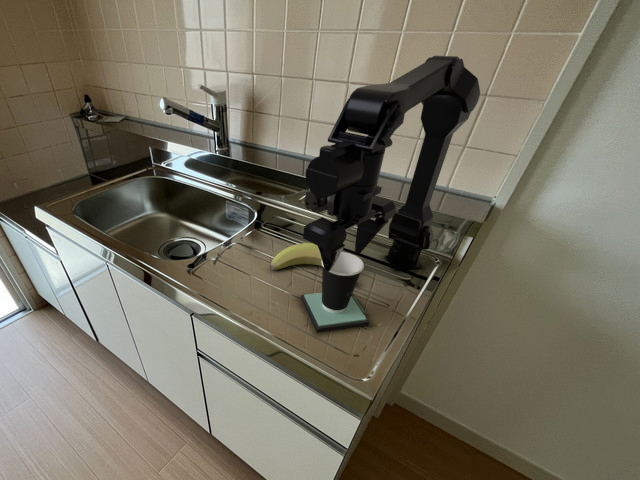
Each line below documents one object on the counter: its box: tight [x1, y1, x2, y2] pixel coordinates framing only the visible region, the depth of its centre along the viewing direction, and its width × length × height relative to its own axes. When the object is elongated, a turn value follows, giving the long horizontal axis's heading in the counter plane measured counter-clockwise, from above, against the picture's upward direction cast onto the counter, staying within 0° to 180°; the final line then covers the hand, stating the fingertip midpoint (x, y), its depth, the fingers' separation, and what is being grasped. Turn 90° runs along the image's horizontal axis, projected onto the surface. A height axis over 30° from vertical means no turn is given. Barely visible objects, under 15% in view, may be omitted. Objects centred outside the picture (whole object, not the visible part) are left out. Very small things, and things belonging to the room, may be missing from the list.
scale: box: [300, 291, 370, 334], centre depth 72 cm, size 12×11×2 cm
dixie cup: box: [321, 251, 365, 313], centre depth 68 cm, size 8×8×11 cm
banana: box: [270, 242, 358, 286], centre depth 83 cm, size 14×6×20 cm
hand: (342, 261), depth 64 cm, fingers open, 9 cm apart
